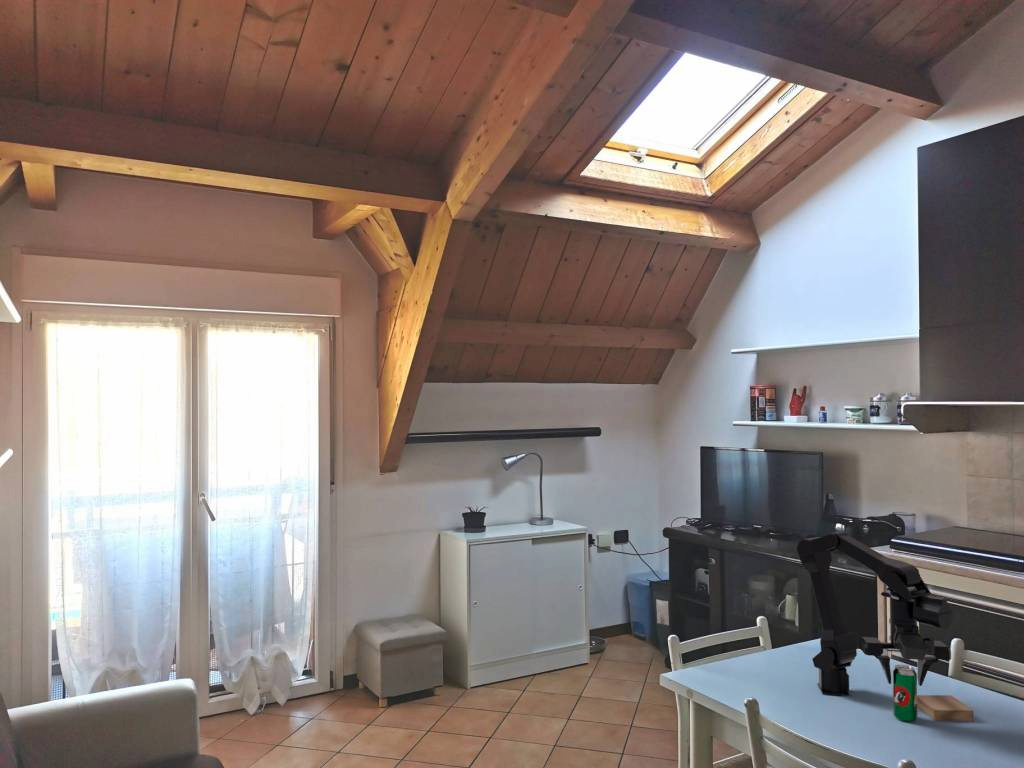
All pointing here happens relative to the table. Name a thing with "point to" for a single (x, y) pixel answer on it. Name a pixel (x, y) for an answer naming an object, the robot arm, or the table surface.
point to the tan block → (944, 708)
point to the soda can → (905, 693)
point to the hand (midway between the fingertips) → (904, 684)
